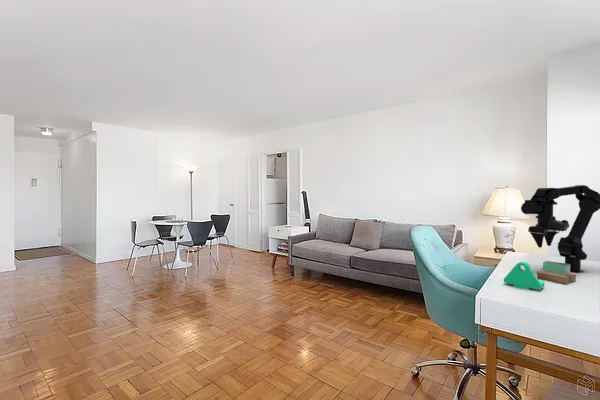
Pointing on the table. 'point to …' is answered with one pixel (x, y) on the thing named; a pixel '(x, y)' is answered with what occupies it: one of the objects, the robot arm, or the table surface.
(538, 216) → the robot arm
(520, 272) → the camera mount
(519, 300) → the table surface
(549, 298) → the table surface
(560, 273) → the block
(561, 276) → the stand
